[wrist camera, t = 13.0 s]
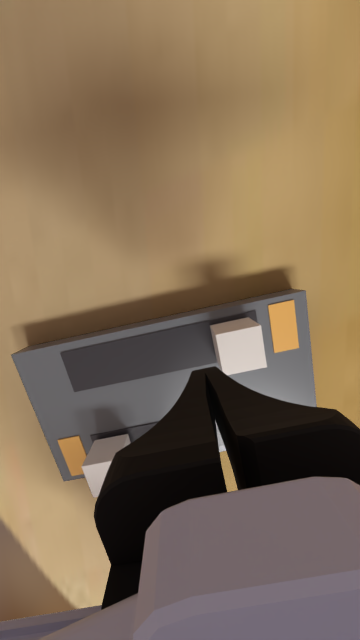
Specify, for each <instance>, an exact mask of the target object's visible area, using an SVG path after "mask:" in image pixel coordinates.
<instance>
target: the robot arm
mask: <svg viewBox="0 0 360 640" xmlns="http://www.w3.org/2000/svg"><path fill="white" fill-rule="evenodd" d="M215 421H216V422H215ZM216 423H217V426H218V429H219V432H220V435H221V437H222V440H223V443H224V446H225V449H226V451H227V454H228V457H229V460H230V463H231V466H232V469H233V472H234V476H235V480H236V484H237V488H238V490H237V491H231V492H227V489H226V485H225V480H224V475H223V471H222V466H221V460H220V452H219V445H218V437H217V429H216ZM94 519H95V523H96V528H97V530H98V533H99V535H100V538H101V540H102V543H103V545H104V548H105V550H106V553H107V555H108V558H109V560H110V563H111V568H110V572H109V577H108V581H107V585H106V590H105V594H104V598H103V603H102V605H100V606H94V607H88V608H82V609H75V610H69V611H63V612H57V613H51V614H45V615H39V616H33V617H26V618H20V619H14V620H8V621H2V622H0V640H360V429H359V428H358V427H357V426H356V425H355V424H354V423H353V422H351V421H350V420H349V419H348V418H346V417H345V416H344V415H343V414H341V413H340V412H339V411H337V410H335V409H327V408H319V407H311V406H305V405H300V404H295V403H290V402H286V401H282V400H279V399H275V398H272V397H269V396H266V395H263V394H261V393H258V392H256V391H254V390H251V389H249V388H247V387H245V386H243V385H242V384H240V383H238V382H236V381H235V380H233V379H232V378H230V377H229V376H228V375H226V374H225V373H224V372H222V371H221V370H220V369H219V368H217V367H216V366H213V367H208V368H203V369H199V370H194V371H192V372H191V374H190V377H189V380H188V382H187V384H186V386H185V388H184V390H183V392H182V394H181V395H180V397H179V398H178V400H177V402H176V403H175V404H174V406H173V407H172V408H171V409H170V411H169V412H168V413H167V414H166V415H165V416H164V417H163V418H162V419H161V420H160V421H159V422H158V423H157V424H156V425H155V426H153V427H152V428H151V429H150V430H149V431H147V432H146V433H145V434H143V435H142V436H141V437H139V438H138V439H137V440H135V441H134V442H132V443H130V444H129V445H127V446H126V447H124V448H123V449H121V450H119V451H118V452H116V453H115V456H114V458H113V460H112V462H111V464H110V466H109V469H108V471H107V474H106V476H105V479H104V482H103V485H102V487H101V490H100V493H99V496H98V498H97V501H96V504H95V511H94Z"/></svg>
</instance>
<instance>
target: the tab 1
mask: <svg viewBox="0 0 360 640" xmlns="http://www.w3.org/2000/svg"><path fill="white" fill-rule="evenodd" d="M130 443H131V442H130V439H129V436H128V434H125V435H120V436H115V437H109V438H104V439H99V440H95V441H94V443H93V445H92V447H91V449H90V451H89V453H88V455H87V457H86V459H85V461H84V463H83V465H82V470H83V472H84V475H85V477H86V480H87V482H88V485H89V488H90V490H91V493H92V495H93V498H94V497H98V496H99V493H100V490H101V487H102V485H103V482H104V479H105V476H106V474H107V471H108V469H109V466H110V464H111V462H112V460H113V458H114V456H115V453H116V452H118V451H119V450H121V449H123V448H124V447H126V446H127V445H129V444H130Z"/></svg>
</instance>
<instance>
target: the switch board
mask: <svg viewBox="0 0 360 640" xmlns="http://www.w3.org/2000/svg"><path fill="white" fill-rule="evenodd" d="M247 317H249V318H250V319H252V320H253V321H255V322H257V323H258V324H260V325H261V329H262V336H263V343H264V350H265V357H266V363H267V367H266V368H261V369H256V370H251V371H246V372H241V373H236V374H231V375H228V376H229V377H230V378H232V379H233V380H235V381H236V382H238V383H240V384H242V385H243V386H245V387H247V388H249V389H251V390H254V391H256V392H258V393H261V394H263V395H266V396H269V397H272V398H275V399H279V400H282V401H286V402H290V403H295V404H300V405H305V406H311V407H317V406H316V396H315V385H314V374H313V364H312V353H311V342H310V332H309V321H308V311H307V300H306V291H305V290H297V289H289V290H284V291H280V292H275V293H270V294H266V295H261V296H257V297H252V298H248V299H243V300H239V301H234V302H229V303H225V304H220V305H216V306H211V307H207V308H202V309H197V310H193V311H188V312H184V313H179V314H175V315H170V316H166V317H161V318H156V319H152V320H147V321H143V322H138V323H134V324H129V325H124V326H120V327H115V328H111V329H106V330H102V331H97V332H93V333H88V334H83V335H79V336H74V337H70V338H65V339H61V340H56V341H51V342H47V343H42V344H38V345H33V346H29V347H26V348H24V349H22V350H20V351H18V352H16V353H14V354H12V355H11V356H12V358H13V361H14V363H15V366H16V368H17V370H18V373H19V375H20V377H21V380H22V382H23V385H24V387H25V389H26V392H27V394H28V397H29V399H30V401H31V404H32V406H33V409H34V411H35V413H36V416H37V418H38V421H39V423H40V425H41V428H42V430H43V433H44V435H45V437H46V440H47V442H48V445H49V447H50V449H51V452H52V454H53V457H54V459H55V461H56V464H57V466H58V468H59V471H60V473H61V476H62V478H63V480H64V481H69V480H74V479H79V478H84V477H85V475H84V472H83V470H82V465H83V463H84V461H85V459H86V457H87V455H88V453H89V451H90V449H91V447H92V445H93V443H94V441H95V440H99V439H104V438H109V437H115V436H120V435H125V434H128V436H129V439H130V442H131V443H132V442H134V441H135V440H137V439H138V438H139V437H141V436H142V435H143V434H145V433H146V432H147V431H149V430H150V429H151V428H152V427H153V426H155V425H156V424H157V423H158V422H159V421H160V420H161V419H162V418H163V417H164V416H165V415H166V414H167V413H168V412H169V411H170V409H171V408H172V407H173V406H174V404H175V403H176V402H177V400H178V398H179V397H180V395H181V394H182V392H183V390H184V388H185V386H186V384H187V382H188V380H189V377H190V374H191V372H192V371H194V370H199V369H203V368H208V367H213V366H216V367H217V368H219V369H220V367H219V365H218V362H217V359H216V354H215V349H214V344H213V339H212V333H211V328H210V325H214V324H219V323H224V322H228V321H233V320H238V319H242V318H247ZM220 370H221V369H220ZM215 422H216V421H215ZM216 429H217V437H218V445H219V452H222V451H226V449H225V446H224V443H223V440H222V437H221V435H220V432H219V429H218V426H217V423H216Z"/></svg>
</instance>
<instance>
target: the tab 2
mask: <svg viewBox="0 0 360 640" xmlns="http://www.w3.org/2000/svg"><path fill="white" fill-rule="evenodd" d="M210 328H211V333H212V339H213V344H214V349H215V354H216V359H217V362H218V365H219V367H220V369H221V371H222V372H224V373H225V374H226V375H231V374H236V373H241V372H246V371H251V370H256V369H261V368H266V367H267V363H266V357H265V350H264V343H263V336H262V329H261V325H260V324H258V323H257V322H255V321H253V320H252V319H250V318H249V317H247V318H242V319H238V320H233V321H228V322H224V323H219V324H214V325H210Z"/></svg>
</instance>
